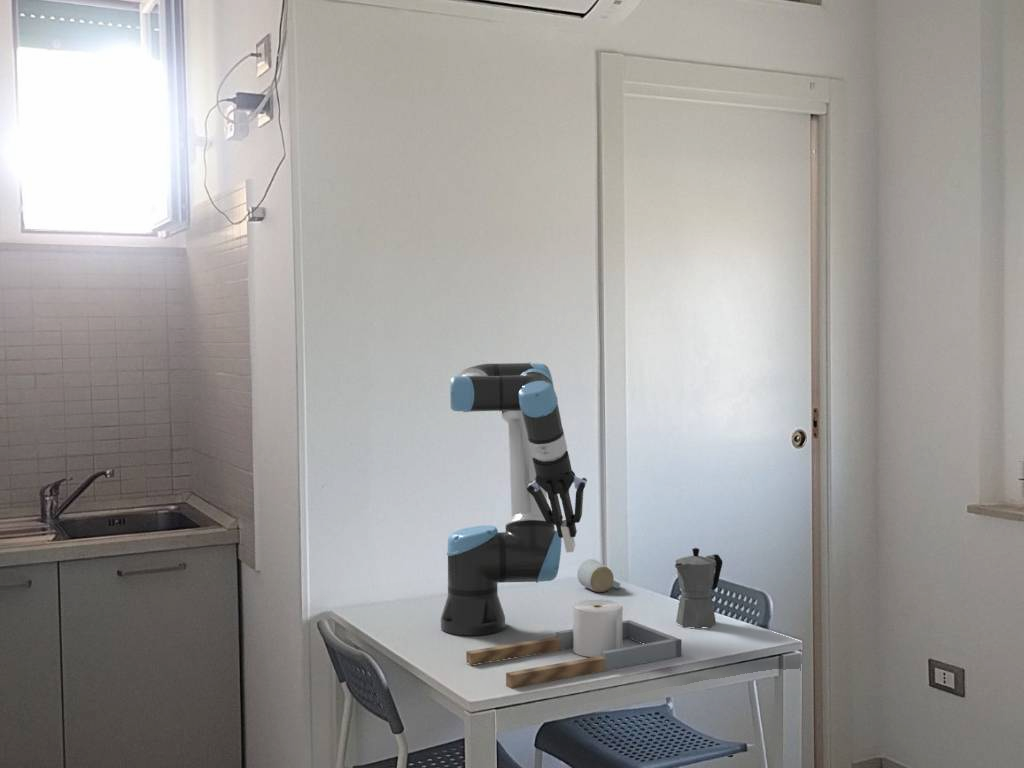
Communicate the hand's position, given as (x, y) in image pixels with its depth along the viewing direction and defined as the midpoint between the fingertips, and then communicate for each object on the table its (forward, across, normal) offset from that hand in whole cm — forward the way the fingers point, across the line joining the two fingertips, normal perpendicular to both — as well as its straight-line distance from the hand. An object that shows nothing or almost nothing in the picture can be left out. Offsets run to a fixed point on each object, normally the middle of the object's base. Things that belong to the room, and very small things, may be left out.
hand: (570, 548), depth 239 cm
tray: (+21, +7, -8) cm, 24 cm away
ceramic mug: (+43, -9, +44) cm, 62 cm away
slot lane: (+14, -6, -21) cm, 26 cm away
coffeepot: (+34, +21, +18) cm, 44 cm away
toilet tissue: (+21, +4, -8) cm, 23 cm away
